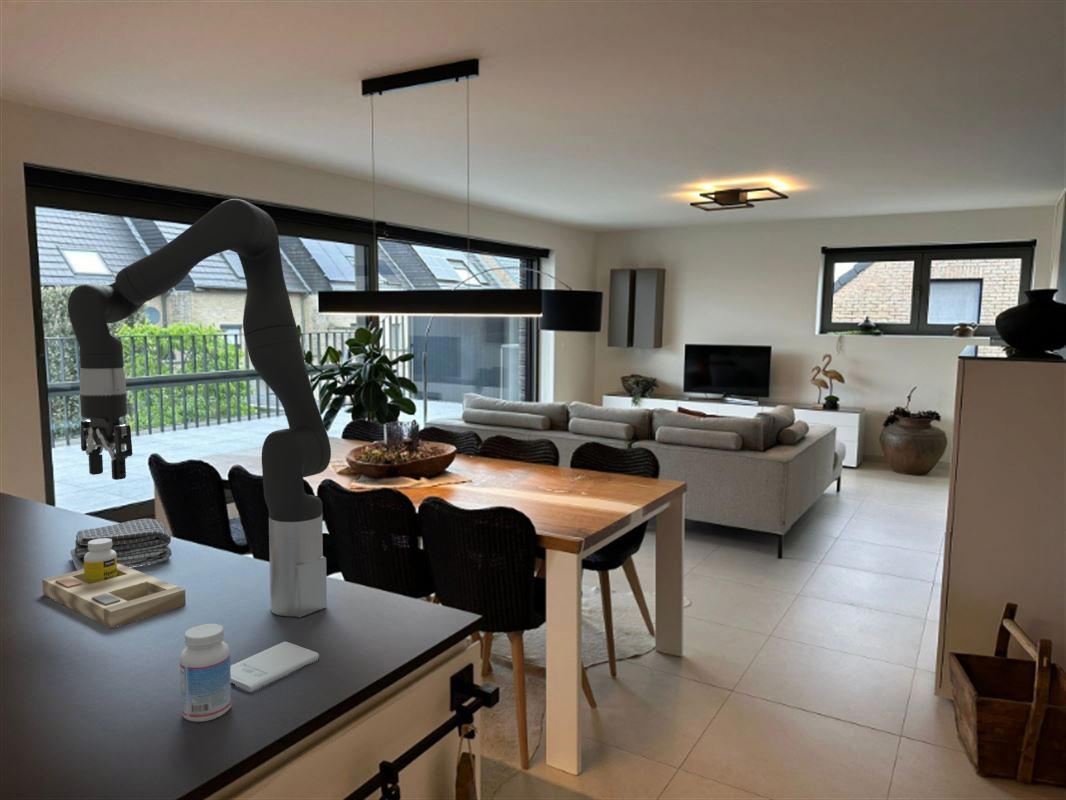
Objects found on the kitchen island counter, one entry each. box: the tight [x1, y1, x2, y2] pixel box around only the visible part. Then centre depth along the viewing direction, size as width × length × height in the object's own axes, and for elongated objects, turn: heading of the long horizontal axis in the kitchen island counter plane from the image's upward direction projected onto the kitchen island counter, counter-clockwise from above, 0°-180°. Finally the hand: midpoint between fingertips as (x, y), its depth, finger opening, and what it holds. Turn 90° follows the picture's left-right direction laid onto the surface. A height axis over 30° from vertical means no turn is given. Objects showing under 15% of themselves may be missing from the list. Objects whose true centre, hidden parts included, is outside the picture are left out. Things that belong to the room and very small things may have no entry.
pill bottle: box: [179, 623, 233, 723], centre depth 96 cm, size 6×6×11 cm
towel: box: [70, 518, 173, 571], centre depth 157 cm, size 15×18×8 cm
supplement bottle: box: [84, 538, 117, 584], centre depth 138 cm, size 5×5×10 cm
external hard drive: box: [230, 641, 320, 690], centre depth 109 cm, size 2×8×12 cm
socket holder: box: [41, 563, 187, 629], centre depth 134 cm, size 26×13×3 cm, turn 56°
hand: (107, 476), depth 137 cm, fingers open, 8 cm apart
